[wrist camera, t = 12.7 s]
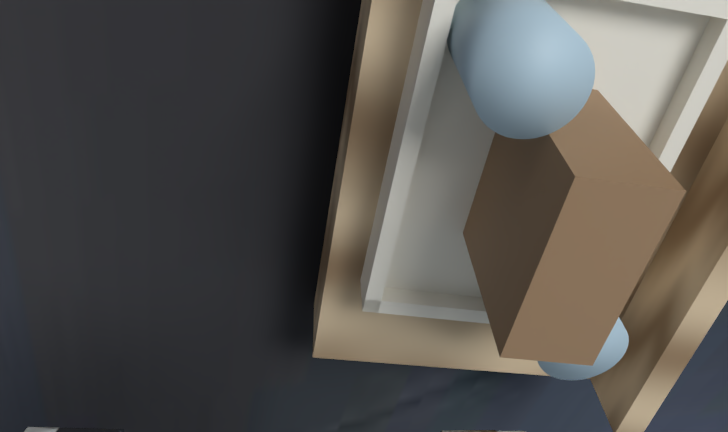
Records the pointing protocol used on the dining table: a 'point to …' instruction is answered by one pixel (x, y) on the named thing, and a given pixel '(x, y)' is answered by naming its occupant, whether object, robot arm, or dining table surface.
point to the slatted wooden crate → (475, 340)
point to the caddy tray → (455, 137)
